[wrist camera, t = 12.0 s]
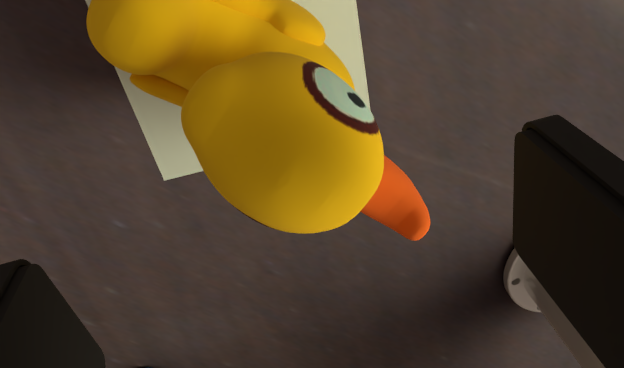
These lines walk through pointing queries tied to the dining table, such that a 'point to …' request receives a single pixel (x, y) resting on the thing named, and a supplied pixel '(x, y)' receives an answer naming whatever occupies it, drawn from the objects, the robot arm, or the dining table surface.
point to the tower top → (167, 116)
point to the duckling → (262, 109)
